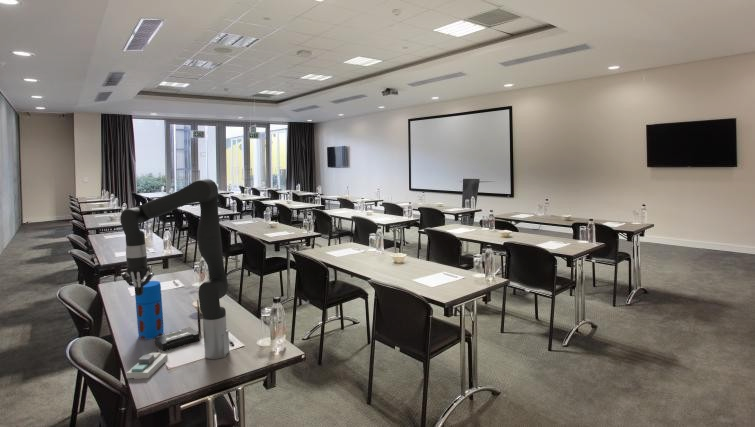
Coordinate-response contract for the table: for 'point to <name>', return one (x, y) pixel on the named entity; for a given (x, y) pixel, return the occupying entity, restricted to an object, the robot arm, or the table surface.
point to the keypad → (148, 368)
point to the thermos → (150, 311)
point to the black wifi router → (178, 337)
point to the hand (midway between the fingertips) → (139, 295)
